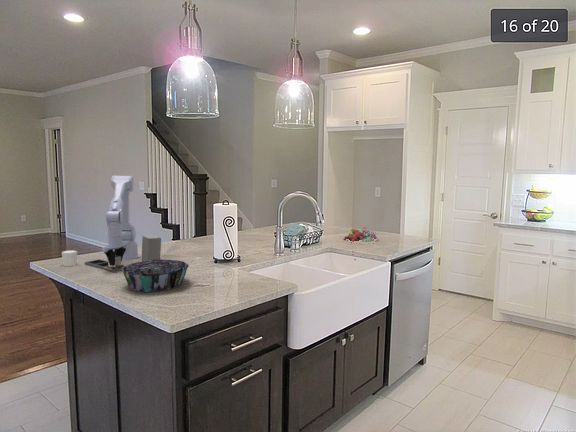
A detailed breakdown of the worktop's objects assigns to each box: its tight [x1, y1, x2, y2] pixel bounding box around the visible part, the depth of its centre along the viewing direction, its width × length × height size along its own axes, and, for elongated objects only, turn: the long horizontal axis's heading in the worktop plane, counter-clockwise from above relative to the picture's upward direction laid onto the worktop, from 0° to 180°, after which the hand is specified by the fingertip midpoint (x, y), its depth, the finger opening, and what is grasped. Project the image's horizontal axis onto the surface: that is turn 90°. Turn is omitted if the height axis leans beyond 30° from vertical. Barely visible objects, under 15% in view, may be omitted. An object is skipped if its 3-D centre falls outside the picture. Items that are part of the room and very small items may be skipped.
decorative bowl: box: [121, 258, 190, 293], centre depth 178 cm, size 26×28×10 cm
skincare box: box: [141, 234, 162, 261], centre depth 205 cm, size 8×7×16 cm
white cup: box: [61, 249, 78, 267], centre depth 206 cm, size 7×7×7 cm
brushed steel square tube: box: [107, 255, 122, 269], centre depth 200 cm, size 4×4×6 cm
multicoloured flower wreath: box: [344, 226, 378, 242], centre depth 295 cm, size 25×24×9 cm
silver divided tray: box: [84, 258, 126, 274], centre depth 205 cm, size 8×24×2 cm, turn 56°
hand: (115, 264), depth 200 cm, fingers closed on brushed steel square tube, 4 cm apart
